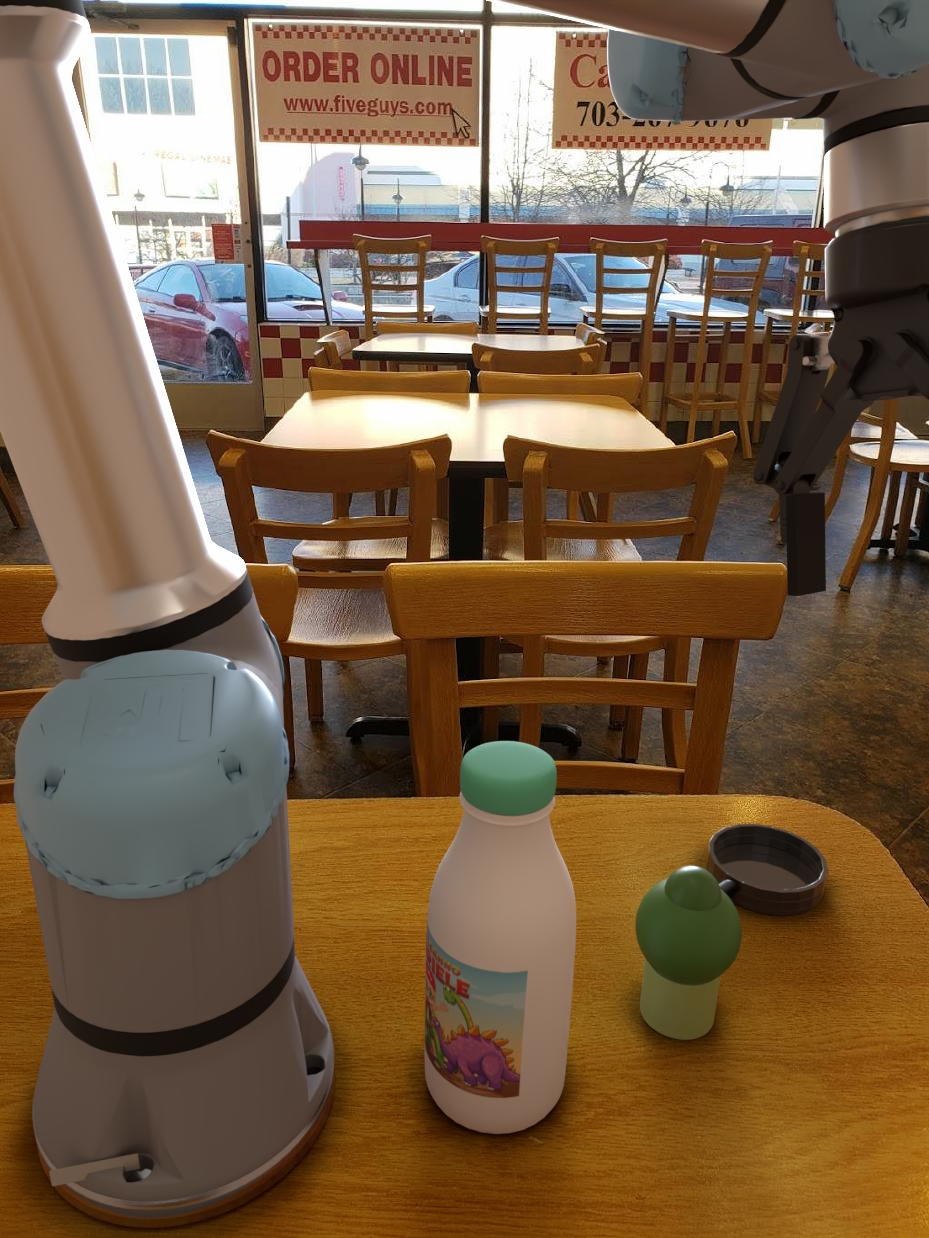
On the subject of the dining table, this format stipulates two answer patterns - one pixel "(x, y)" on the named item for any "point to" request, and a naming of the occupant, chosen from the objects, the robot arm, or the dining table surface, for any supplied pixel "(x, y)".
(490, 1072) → the milk bottle
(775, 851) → the pan
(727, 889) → the pan handle
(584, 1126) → the dining table surface
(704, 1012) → the broccoli
